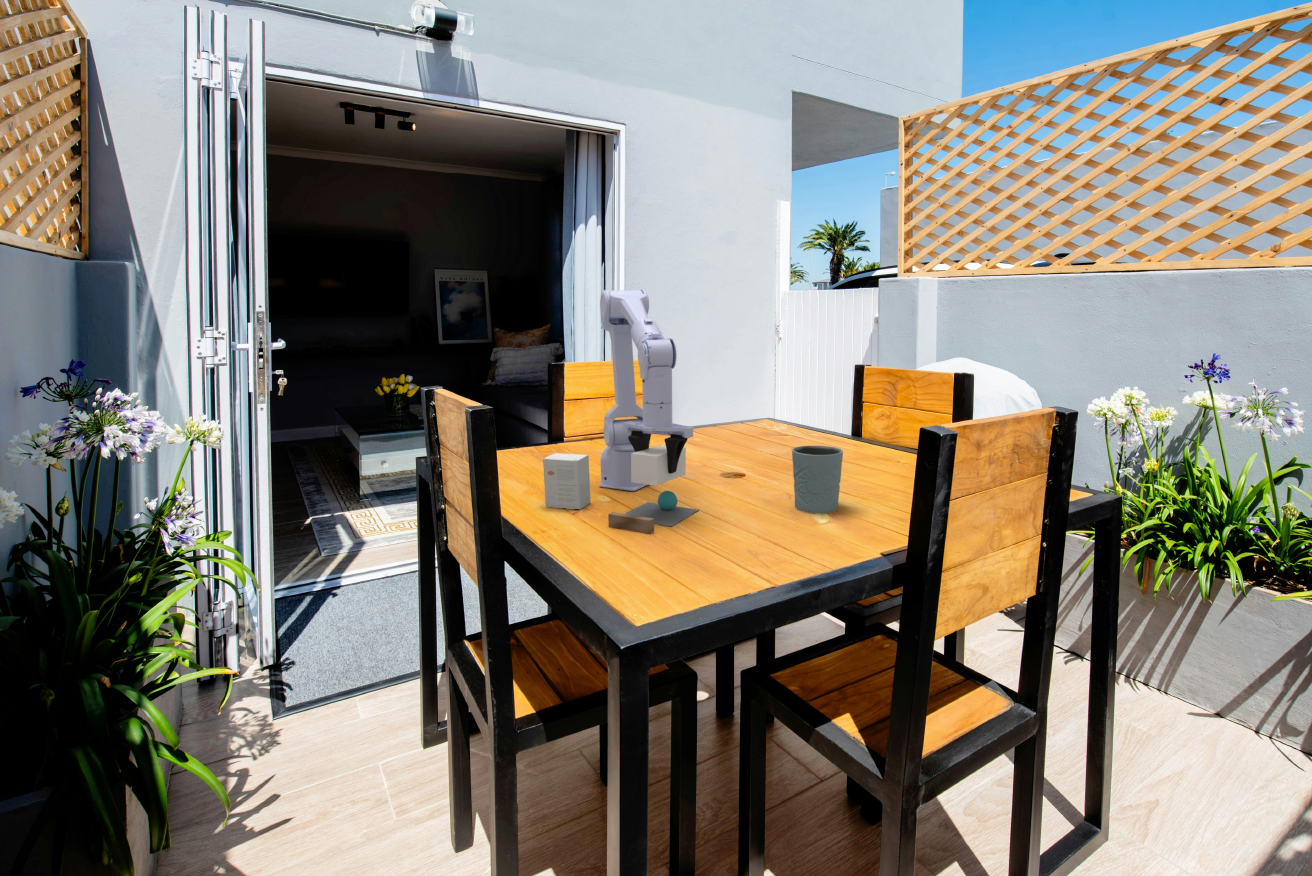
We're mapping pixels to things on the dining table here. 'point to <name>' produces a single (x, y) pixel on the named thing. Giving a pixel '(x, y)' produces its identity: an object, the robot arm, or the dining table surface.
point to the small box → (566, 481)
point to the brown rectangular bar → (631, 522)
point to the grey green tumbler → (817, 478)
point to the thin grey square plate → (662, 513)
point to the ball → (667, 500)
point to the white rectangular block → (655, 466)
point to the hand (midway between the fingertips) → (658, 470)
